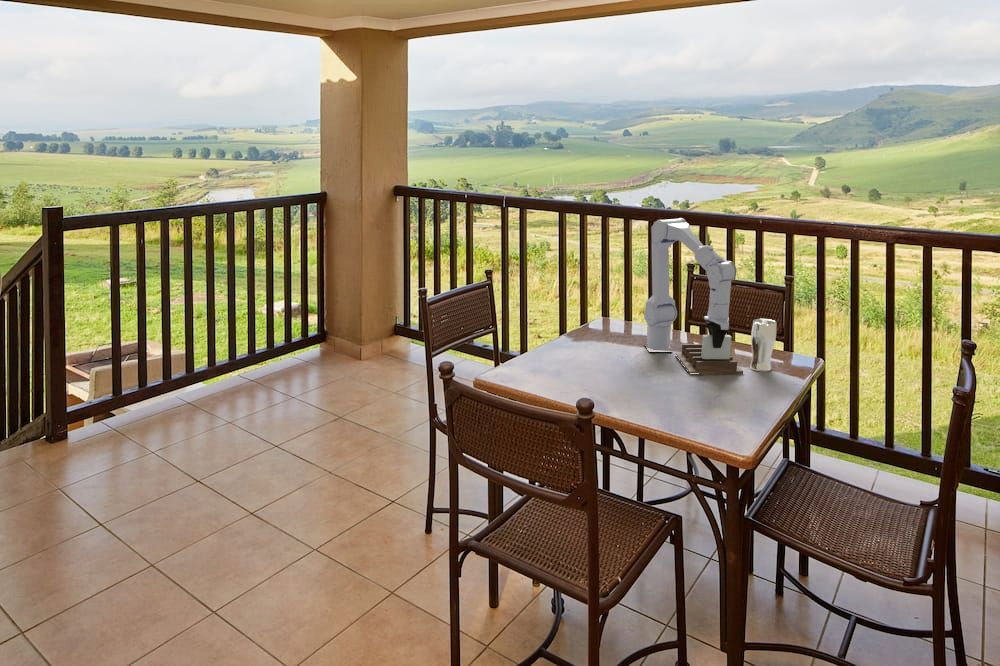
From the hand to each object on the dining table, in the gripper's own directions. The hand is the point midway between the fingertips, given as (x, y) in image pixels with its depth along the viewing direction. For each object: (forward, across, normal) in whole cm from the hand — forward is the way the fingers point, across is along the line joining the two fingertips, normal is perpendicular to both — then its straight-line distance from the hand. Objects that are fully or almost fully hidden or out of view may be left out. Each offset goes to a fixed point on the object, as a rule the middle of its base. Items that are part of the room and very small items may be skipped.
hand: (715, 346), depth 195 cm
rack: (+8, -6, 0) cm, 10 cm away
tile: (+4, 0, 0) cm, 4 cm away
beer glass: (+8, -2, +15) cm, 17 cm away
